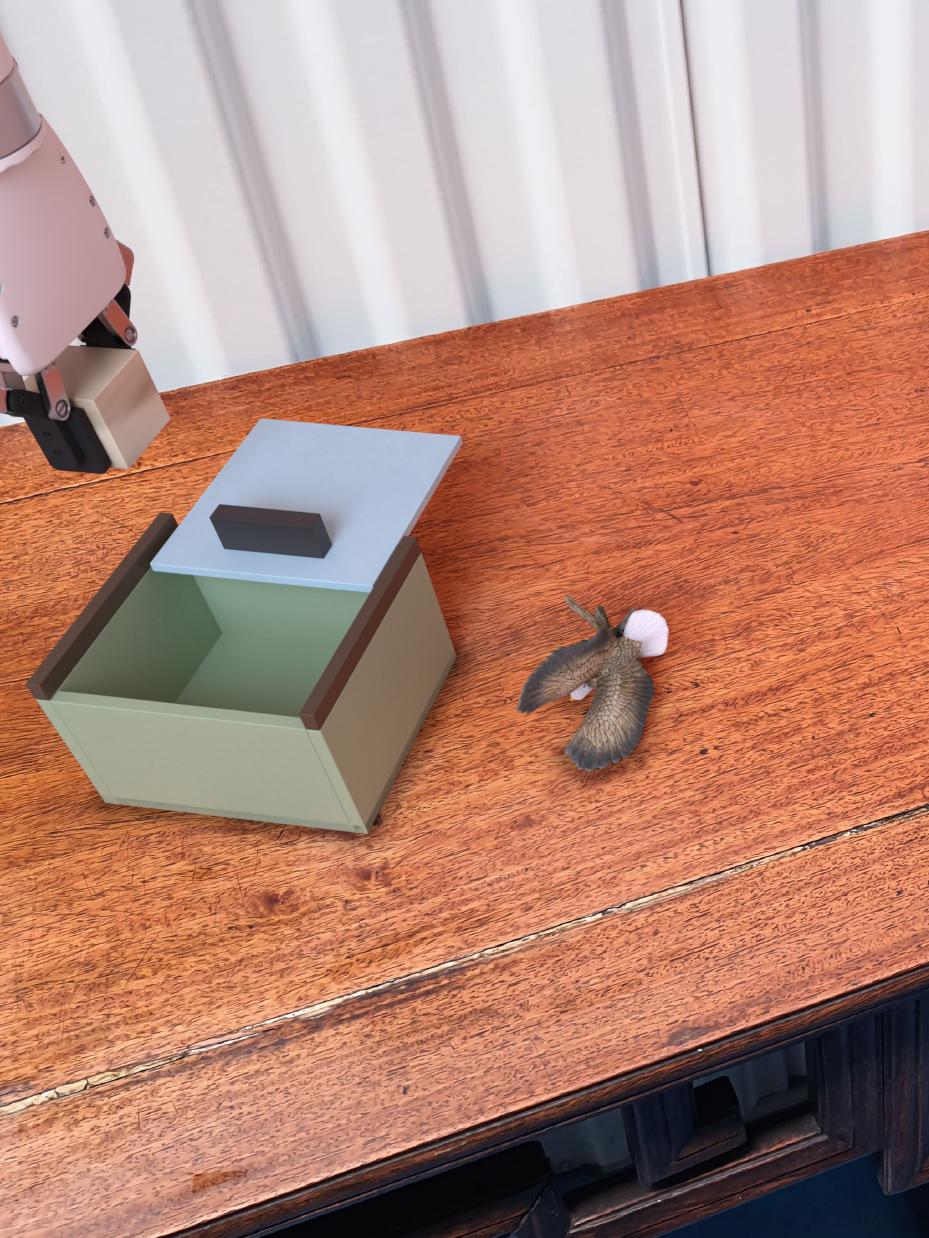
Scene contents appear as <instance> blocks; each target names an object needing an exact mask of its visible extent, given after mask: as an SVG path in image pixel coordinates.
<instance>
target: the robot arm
mask: <svg viewBox="0 0 929 1238" xmlns="http://www.w3.org/2000/svg"><path fill="white" fill-rule="evenodd" d="M52 127H53V126H51V124H50V123H49V121H48V120H47V119H46V117H45V116H44V114H42V113H40V112H39V111H38V109H37V107H36V104H35V103H34V100H33V98H32V96H31V94H30V92H29V90H28V88H27V85H26V84H25V81H24V79H23V78H22V75H21V73H20V71H19V64H18V62H17V60H16V59H15V57H14V56H13V55H12V54H11V52H10V50H9V48H8V45H7V43H6V41H5V39H4V36H3V34H2V33H1V31H0V414H3V415H7V416H10V417H12V418H22V419H23V420H24V422H25V424H26V426H27V427H28V429H29V430H30V432H31V434H32V436H33V438H34V439H35V441H36V443H37V445H38V446H39V448H40V450H41V453H42V454H43V455H44V457H45V459H46V461H47V462H48V464H49V466H50V467H51V468H52V469H55V470H56V471H60V472H70V473H71V472H72V473H84V474H96V475H105V474H106V473H107V472H108V471H109V470H110V469H111V468H110V467H111V463H110V459H109V458H108V456H107V454H106V452H105V450H104V448H103V446H102V444H101V442H100V440H99V439H98V437H97V435H96V433H95V431H94V429H93V427H92V425H91V423H90V422H89V420H88V418H87V416H86V414H85V412H84V411H83V410H82V408H77V407H70V403H69V400H68V396H67V393H66V390H65V386H64V383H63V380H62V377H61V373H60V370H59V367H58V364H57V360H56V357H57V356H58V355H59V354H60V353H61V352H62V351H63V350H64V349H65V348H66V347H67V346H68V345H71V344H72V343H73V342H74V341H75V340H76V338H77V339H78V340H79V341H80V342H81V343H83V344H80V345H79V346H88V347H102V348H116V349H130V350H137V349H136V348H133V347H132V346H135V344H136V343H137V342H138V330H137V328H136V326H135V325H134V324H133V322H132V321H131V320H130V318H131V304H132V292H131V290H130V286H131V280H132V275H133V269H134V263H135V255H134V252H133V249H131V248H130V247H128V246H127V245H126V244H124V243H122V242H121V241H120V240H118V239H116V238H115V236H114V233H113V231H112V228H111V226H110V225H109V223H108V220H107V219H106V216H105V215H104V212H103V210H102V208H101V206H100V205H99V203H98V201H97V199H96V197H95V195H94V193H93V190H91V188H90V186H89V184H88V183H87V180H86V179H85V178H84V176H83V174H82V172H81V170H80V168H79V167H78V165H77V164H76V162H75V160H74V159H73V157H72V156H71V154H70V152H69V151H68V149H67V147H66V146H65V144H64V143H63V141H62V140H61V139H60V137H59V135H58V133H56V131H55V130H54V128H52ZM31 375H34V377H35V380H36V383H37V387H38V390H39V393H37V392H32V391H28V390H26V387H25V384H24V377H28V376H31Z"/></svg>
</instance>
